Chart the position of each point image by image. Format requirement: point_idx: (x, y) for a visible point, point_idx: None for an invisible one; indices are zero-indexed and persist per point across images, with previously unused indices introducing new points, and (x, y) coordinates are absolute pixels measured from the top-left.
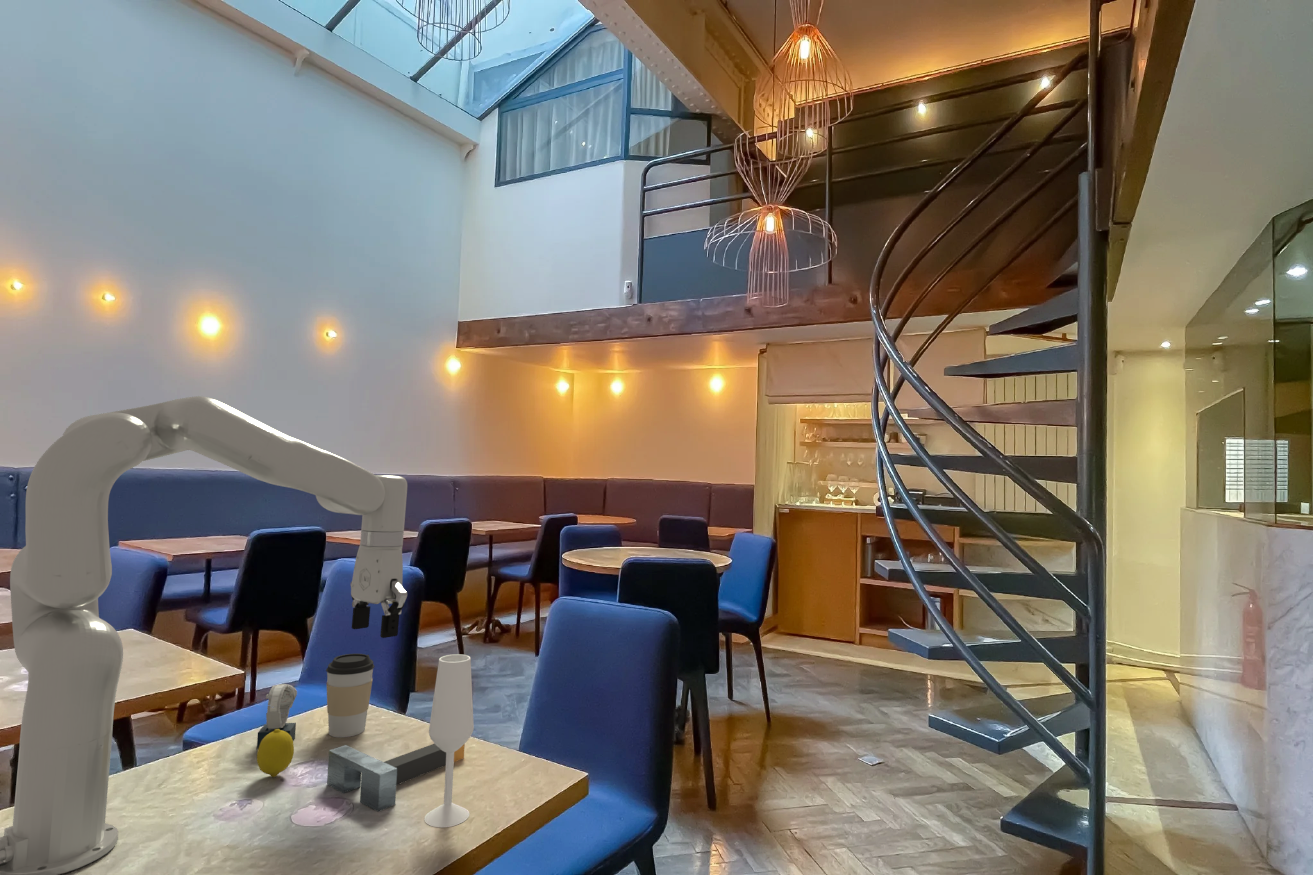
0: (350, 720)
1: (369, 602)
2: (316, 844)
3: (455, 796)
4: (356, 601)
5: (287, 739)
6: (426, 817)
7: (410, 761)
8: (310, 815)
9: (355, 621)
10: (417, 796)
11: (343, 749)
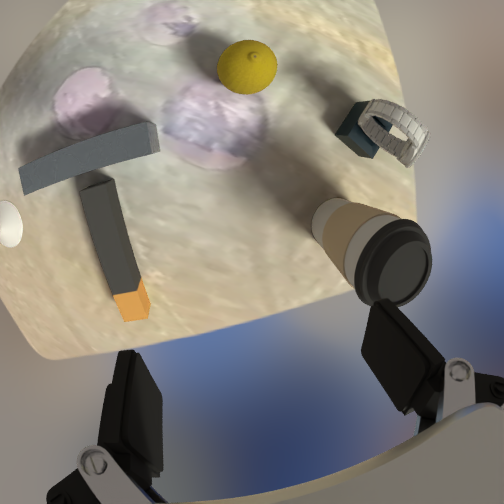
0: (322, 224)
1: (228, 502)
2: (26, 88)
3: (36, 251)
4: (453, 395)
5: (230, 71)
6: (8, 204)
7: (91, 234)
8: (83, 87)
9: (388, 326)
10: (53, 215)
11: (133, 143)
